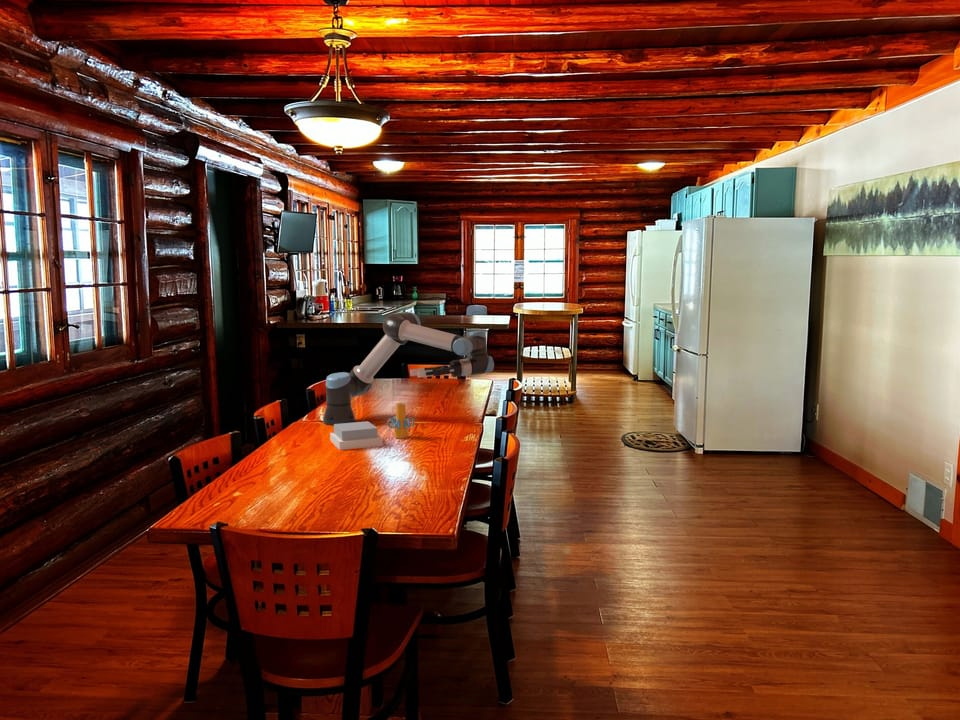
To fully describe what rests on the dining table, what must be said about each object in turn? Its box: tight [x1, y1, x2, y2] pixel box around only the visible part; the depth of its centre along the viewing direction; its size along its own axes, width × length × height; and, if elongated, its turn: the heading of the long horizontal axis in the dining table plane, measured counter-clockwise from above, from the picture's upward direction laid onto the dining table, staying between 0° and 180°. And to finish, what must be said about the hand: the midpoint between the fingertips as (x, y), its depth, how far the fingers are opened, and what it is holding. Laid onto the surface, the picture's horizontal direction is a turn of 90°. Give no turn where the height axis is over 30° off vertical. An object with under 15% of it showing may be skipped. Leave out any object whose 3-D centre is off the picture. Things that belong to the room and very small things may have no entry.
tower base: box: [329, 432, 383, 451], centre depth 305 cm, size 18×18×4 cm
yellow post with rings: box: [387, 402, 416, 440], centre depth 316 cm, size 12×10×15 cm
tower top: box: [333, 421, 379, 441], centre depth 305 cm, size 15×15×4 cm
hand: (414, 373), depth 317 cm, fingers open, 13 cm apart
